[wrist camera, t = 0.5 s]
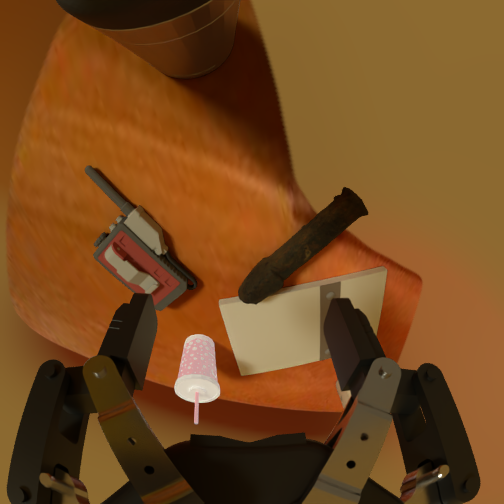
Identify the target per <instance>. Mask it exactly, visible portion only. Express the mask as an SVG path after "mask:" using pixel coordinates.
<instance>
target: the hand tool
mask: <svg viewBox="0 0 504 504" xmlns="http://www.w3.org/2000/svg"><path fill="white" fill-rule="evenodd" d="M365 215H368V211H367V209H366V207H365V205H364V203H363V201H362V199H360V198H359V197H358V196H357V194H355V193H354V192H353V191H352V190H350V189H349V188H346V187H344V188H343V190H342V194H341V195H337V196H335V197H334V201H333V202H332V203H330V204H329V205H328V206H327V207H326V208H325V209H323V210H322V211H321V212H320V213H319V214H317V216H316V217H315V218H314V219H313V220H311V221H310V222H309V223H308V224H307V225H304V226H303V227H302V229H301V230H299V231H298V232H297V233H296V234H295V235H294V236H293V237H292V238H291V239H289V240H288V241H287V242H286V243H285V244H284V245H282V246H281V247H280V248H279V249H278V250H276V251H275V252H274V253H273V254H272V255H271V256H269V257H267V258H263V259H262V260H261V261H260V262H259V263H258V264H257V265H256V266H255V267H254V268H253V270H252V271H251V272H250V273H249V275H248V276H247V277H246V279H245V280H244V282H243V283H242V285H241V286H240V288H239V290H238V295H239V299H240V300H241V301H242V302H243V303H246V304H255V305H256V304H258V303H259V302H261V301H262V300H264V299H265V298H267V297H268V296H270V295H272V294H274V293H276V292H277V291H278V290H280V289H281V288H282V287H283V282H284V280H285V279H287V278H288V277H289V276H290V275H291V274H292V273H293V272H294V271H295V270H296V269H298V268H299V267H300V266H302V265H303V264H304V263H306V262H307V261H308V260H309V259H311V258H312V257H313V256H314V255H316V254H317V253H318V252H319V251H320V250H322V249H323V248H324V247H325V246H327V244H329V243H330V242H331V241H332V240H333V239H335V238H336V237H337V236H338V235H339V234H341V233H342V232H343V231H344V230H345V229H346V228H347V227H348V226H350V225H351V224H352V223H353V222H354V221H356V220H357V219H358V218H359V217H361V216H365Z"/></svg>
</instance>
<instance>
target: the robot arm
mask: <svg viewBox="0 0 504 504" xmlns="http://www.w3.org/2000/svg"><path fill="white" fill-rule="evenodd" d="M56 1H57V3H58V4H59V5H60V6H61V7H62V8H63V9H64V10H65V11H66V12H68V13H69V14H71V15H72V16H74V17H76V18H77V19H79V20H81V21H83V22H85V23H86V24H88V25H90V26H91V27H93V28H95V29H96V30H98V31H100V32H101V33H103V34H105V35H106V36H108V37H110V38H112V39H113V40H115V41H116V42H118V43H119V44H121V45H122V46H124V47H125V48H127V49H129V50H130V51H132V52H133V53H134V54H136V55H137V56H139V57H140V58H142V59H143V60H145V61H146V62H148V63H149V64H150V65H152V66H153V67H155V68H156V69H157V70H159V71H160V72H161V73H163V74H165V75H168V76H170V77H174V78H179V79H190V78H197V77H200V76H203V75H206V74H208V73H210V72H212V71H214V70H215V69H216V68H218V67H219V66H221V65H222V63H223V62H224V61H225V60H226V59H227V58H228V56H229V54H230V53H231V50H232V47H233V44H234V37H235V31H236V24H237V17H238V10H239V4H240V0H56ZM323 330H324V336H325V339H326V342H327V345H328V348H329V352H330V355H331V358H332V361H333V365H334V368H335V371H336V375H337V378H338V381H339V385H340V388H341V392H342V391H349V390H350V392H351V397H350V398H349V400H348V402H347V404H346V406H345V408H344V410H343V412H342V414H341V416H340V418H339V420H338V422H337V424H336V425H335V427H334V429H333V431H332V433H331V434H330V435H329V437H328V438H327V440H326V441H325V443H324V444H323V443H321V442H318V441H315V440H311V439H306V437H305V433H296V434H283V435H276V436H272V437H269V438H265V439H262V440H258V441H254V442H243V441H238V440H234V439H230V438H225V437H222V436H210V435H195V434H191V438H190V440H189V441H184V442H180V443H177V444H175V445H172V446H170V447H168V448H167V449H164V447H163V446H162V444H161V443H160V442H159V440H158V439H157V437H156V436H155V434H154V433H153V431H152V429H151V428H150V426H149V425H148V423H147V421H146V420H145V418H144V417H143V415H142V413H141V411H140V410H139V408H138V406H137V404H136V403H135V401H134V399H133V393H134V389H136V390H142V389H143V385H144V381H145V376H146V372H147V368H148V364H149V360H150V356H151V352H152V348H153V344H154V340H155V336H156V332H157V316H156V312H155V307H154V302H153V297H152V295H151V294H147V293H134V294H133V297H132V299H131V301H130V304H127V303H123V304H122V305H121V306H120V307H119V308H118V309H117V310H116V312H115V314H114V317H113V319H112V321H111V323H110V326H109V328H108V330H107V333H106V335H105V338H104V340H103V342H102V345H101V347H100V350H99V352H98V355H97V356H94V357H92V358H90V359H89V360H88V361H86V363H85V364H84V366H79V367H68V368H65V367H64V365H63V364H62V363H61V362H60V361H58V360H48V361H46V362H45V363H43V364H42V365H41V366H40V368H39V370H38V372H37V375H36V377H35V380H34V383H33V386H32V388H31V391H30V394H29V397H28V400H27V403H26V406H25V409H24V412H23V415H22V419H21V422H20V426H19V429H18V433H17V437H16V441H15V445H14V450H13V454H12V459H11V464H10V470H9V476H8V484H7V495H8V498H9V500H10V502H11V504H90V503H89V499H88V492H87V489H86V487H85V485H84V484H83V483H82V482H81V481H80V480H79V474H80V465H81V459H82V451H83V446H84V440H85V435H86V429H87V424H88V419H89V415H90V413H98V414H99V417H98V421H99V424H100V426H101V428H102V430H103V433H104V435H105V437H106V439H107V441H108V443H109V445H110V447H111V449H112V451H113V452H114V454H115V456H116V458H117V459H118V462H119V463H120V465H121V467H122V469H123V470H124V472H125V474H126V475H127V477H128V479H129V481H128V482H127V483H126V484H125V485H123V486H122V487H121V488H120V489H119V490H117V491H116V492H115V493H114V494H112V495H111V496H110V497H109V498H107V499H106V500H105V501H104V502H102V503H101V504H463V503H465V502H468V501H470V500H472V499H473V498H474V497H475V496H476V495H477V493H478V491H479V488H480V477H479V473H478V469H477V465H476V462H475V458H474V455H473V452H472V449H471V445H470V443H469V440H468V437H467V433H466V431H465V428H464V425H463V422H462V420H461V417H460V415H459V412H458V409H457V407H456V404H455V402H454V400H453V397H452V395H451V392H450V390H449V388H448V385H447V383H446V381H445V379H444V376H443V374H442V372H441V371H440V369H439V368H438V367H437V366H435V365H433V364H430V363H425V364H422V365H421V366H420V367H419V368H418V370H417V371H416V370H408V369H401V368H400V367H399V365H398V364H397V363H396V362H395V361H393V360H392V359H389V358H386V356H385V354H384V352H383V350H382V348H381V345H380V343H379V341H378V339H377V337H376V335H375V333H374V331H373V329H372V326H370V322H369V320H368V318H367V316H366V315H365V314H364V313H363V312H362V311H361V310H360V309H359V308H356V309H354V307H353V305H352V303H351V300H350V299H349V298H333V299H332V300H331V302H330V305H329V309H328V312H327V315H326V318H325V321H324V327H323ZM420 407H421V408H420ZM421 409H422V410H421ZM422 412H423V413H422ZM390 413H391V414H390ZM423 415H424V416H423ZM424 417H425V419H424ZM392 418H393V421H394V425H395V428H396V432H397V435H398V439H399V444H400V448H401V452H402V456H403V460H404V464H405V469H406V473H407V475H406V477H405V478H404V480H403V482H402V486H401V488H400V492H401V497H400V498H398V497H397V496H395V495H394V494H392V493H390V492H389V491H388V490H386V489H384V488H383V487H382V486H381V485H379V484H378V483H376V482H375V481H374V480H372V479H371V478H370V477H369V475H370V473H371V471H372V469H373V466H374V464H375V462H376V460H377V458H378V455H379V453H380V450H381V448H382V445H383V443H384V441H385V438H386V435H387V433H388V430H389V427H390V424H391V422H392ZM425 420H426V422H425Z"/></svg>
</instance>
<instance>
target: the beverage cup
mask: <svg viewBox="0 0 504 504" xmlns="http://www.w3.org/2000/svg"><path fill="white" fill-rule="evenodd" d="M174 388H175V393H177V395H178V396H179V397H181V398H183V399H185V400H187V401H191V402H195V418H194V423H195V424H198V406H199V405H198V404H199V403H204V402H210V401H212V400H214V399H216V398H217V397H218V396H219V395H220V385H219V384H218V382H217V372H216V360H215V348H214V342H213V340H212V339H211V338H209V337H208V336H205V335H200V334H196V335H191V336H190V337H188V338H187V339H186V341H185V344H184V349H183V354H182V359H181V364H180V369H179V375H178V379H177V381H176V382H175V387H174Z"/></svg>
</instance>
